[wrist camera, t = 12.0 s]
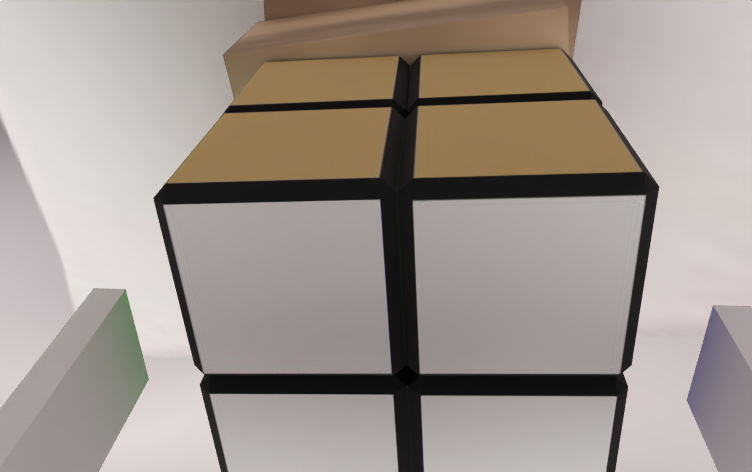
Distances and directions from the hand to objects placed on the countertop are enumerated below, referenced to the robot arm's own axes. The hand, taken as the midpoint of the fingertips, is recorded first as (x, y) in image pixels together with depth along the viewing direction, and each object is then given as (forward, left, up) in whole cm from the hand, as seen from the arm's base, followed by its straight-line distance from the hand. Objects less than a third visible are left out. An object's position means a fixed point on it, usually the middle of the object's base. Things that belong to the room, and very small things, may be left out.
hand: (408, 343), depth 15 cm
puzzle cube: (+1, 0, -10) cm, 10 cm away
